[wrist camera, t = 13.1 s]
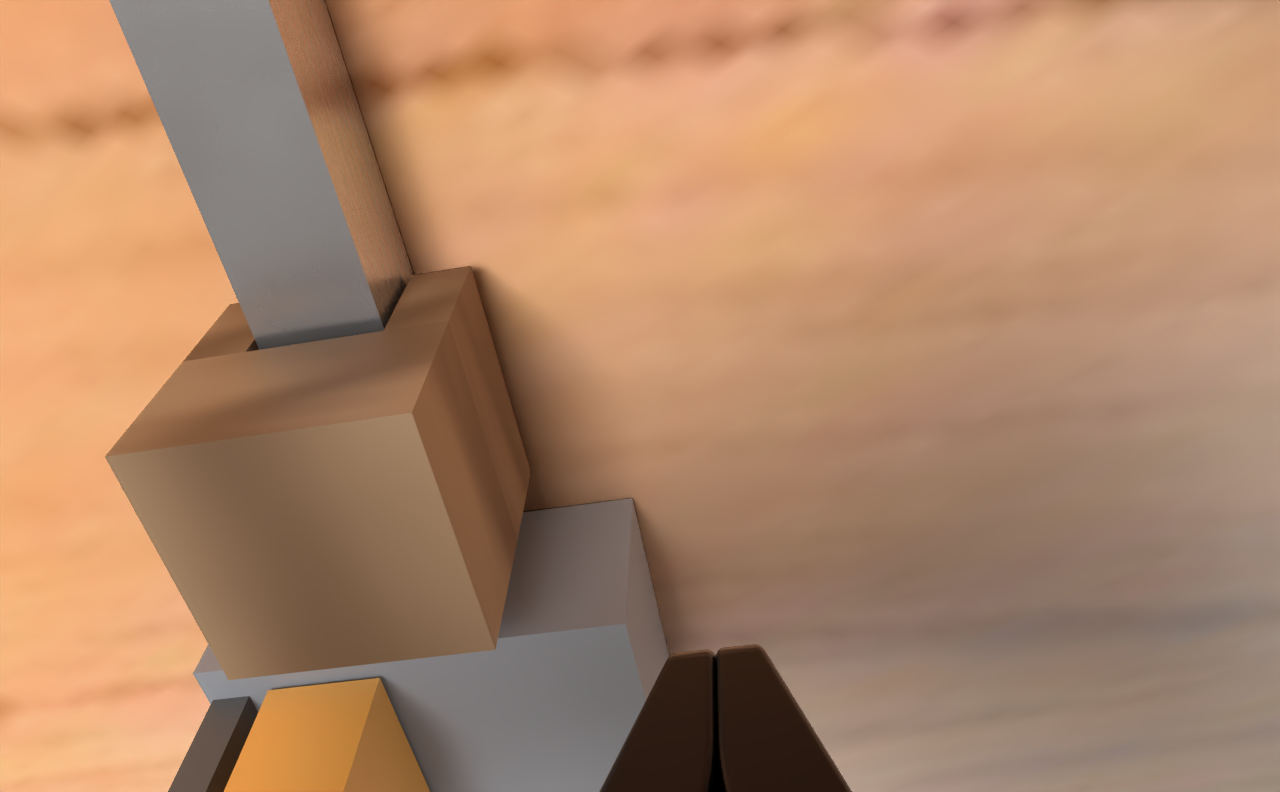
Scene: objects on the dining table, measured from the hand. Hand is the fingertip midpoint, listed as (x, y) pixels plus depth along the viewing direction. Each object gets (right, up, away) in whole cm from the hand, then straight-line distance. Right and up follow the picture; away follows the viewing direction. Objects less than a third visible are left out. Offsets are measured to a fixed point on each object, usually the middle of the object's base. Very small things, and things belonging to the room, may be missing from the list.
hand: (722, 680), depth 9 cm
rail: (-7, +6, +11) cm, 14 cm away
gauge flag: (-7, -5, +13) cm, 15 cm away
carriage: (-6, +3, +12) cm, 14 cm away
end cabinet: (-5, -3, +16) cm, 17 cm away
